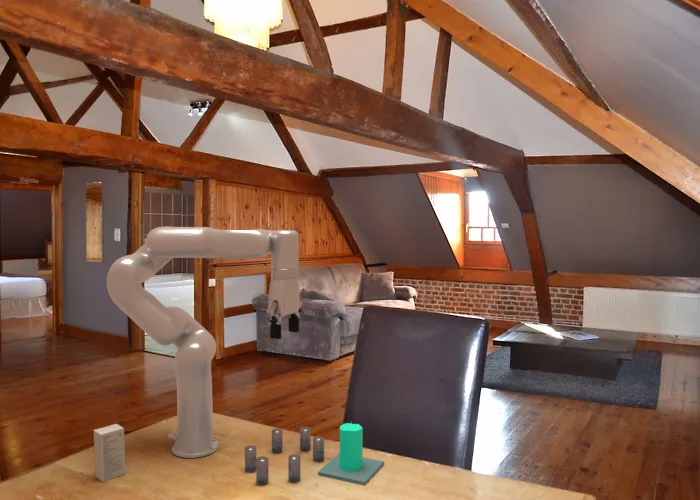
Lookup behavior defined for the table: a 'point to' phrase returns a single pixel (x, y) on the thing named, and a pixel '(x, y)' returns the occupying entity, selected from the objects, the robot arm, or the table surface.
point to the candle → (351, 447)
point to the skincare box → (109, 452)
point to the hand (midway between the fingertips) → (285, 335)
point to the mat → (357, 477)
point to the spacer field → (277, 447)
